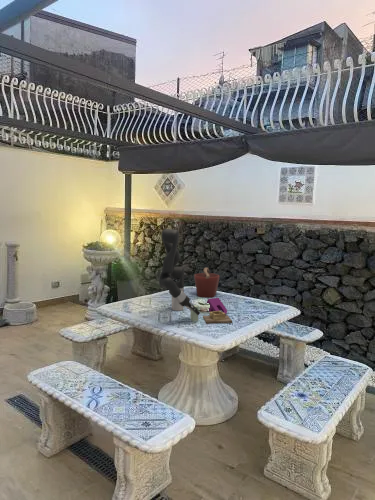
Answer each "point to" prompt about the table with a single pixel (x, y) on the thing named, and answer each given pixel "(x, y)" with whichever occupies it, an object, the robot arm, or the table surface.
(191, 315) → the rail post
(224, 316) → the cup bracket
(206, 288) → the bucket
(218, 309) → the mounting bracket
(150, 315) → the table surface
